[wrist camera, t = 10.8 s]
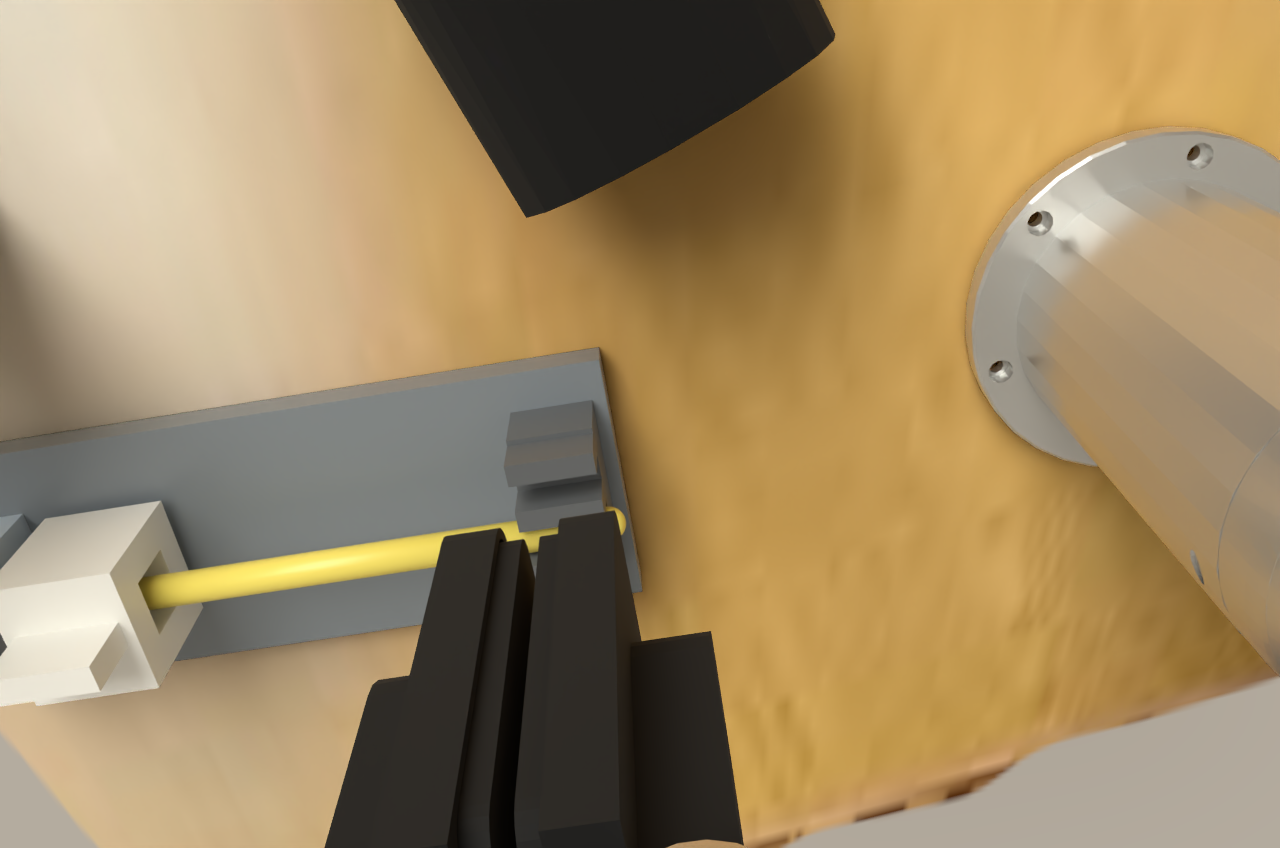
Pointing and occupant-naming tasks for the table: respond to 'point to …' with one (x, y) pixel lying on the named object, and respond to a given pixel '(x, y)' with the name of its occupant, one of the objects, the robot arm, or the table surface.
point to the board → (342, 483)
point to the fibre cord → (316, 567)
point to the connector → (11, 544)
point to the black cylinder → (605, 78)
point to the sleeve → (90, 607)
